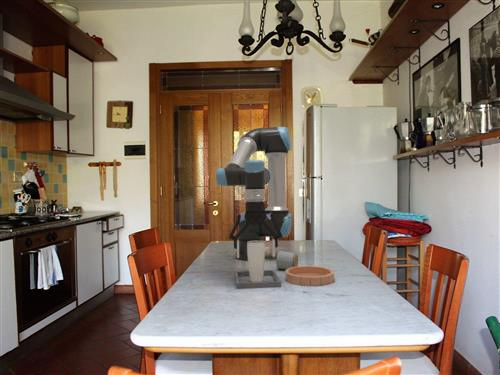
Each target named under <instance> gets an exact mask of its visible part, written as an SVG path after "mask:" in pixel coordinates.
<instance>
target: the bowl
mask: <svg viewBox="0 0 500 375" xmlns="http://www.w3.org/2000/svg"><path fill="white" fill-rule="evenodd" d="M284 279H285V281H286V282H288V283H291V284H294V285H298V286H307V287H309V286H310V287H312V286H313V287H317V286H319V287H320V286H325V285H330V284H332V283H335V282H334V281H335V271H334V270H333V269H332V268H329V267H328V268H327V267H324V266H317V265H298V266H297V267H291V268H288V269H287V270H284Z"/></svg>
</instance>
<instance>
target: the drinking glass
mask: <svg viewBox="0 0 500 375" xmlns="http://www.w3.org/2000/svg"><path fill="white" fill-rule="evenodd" d="M265 242H266V241H263V240H262V241H248V242H247V255H248V260H247V263H248V271H249V276H248V277H249V282H264V276H265V275H264V270H265V259H266V257H265V256H266V245H265Z"/></svg>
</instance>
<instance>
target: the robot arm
mask: <svg viewBox="0 0 500 375" xmlns="http://www.w3.org/2000/svg"><path fill="white" fill-rule="evenodd" d="M289 151H292V141H291V134H290V131H289V129H288V128H287V127H286V126H273V127H271V126H270V127H257V128H253V129H250V130H249V131H247V132H246V133H245V134H243V135H242V136H241V137H240V138H239V140H238V142H237V148H236V150H235V151H234V153H233V155H232V156H231V158H230V160H229V162H228V163H227V165H226V166H225V167H221V168H220V167H219V168H218V169H217V170H216V172H215V180H216V183H217V185H218V186H220V187H221V186H223V187H238V186H242V187H245V189H244V194H245V195H244V197H245V198H244V199H245V200H246V202H244V203H245V204H244V207H245V212H244V211H243V212H241V213H237V214H236V221H235V222H234V224H233V227H232V228H231V231H230V234H229V235H228V238H229V239H230V240H233V249H234V250H235V249H236V250H235V259H237V260H242V261H248V255H247V242H248V241H263V239H262V238H271V256H272V257H273V258H276V248H278V247H279V242H278V241H279V239H281V238H287V237H288V236H290V233H291V229H292V222H293V214H292V213H291V212H289V211H290V210H289V208H288V207H287V206H286V158H287V156H288V155H289ZM256 152H257V153H258V152H264V156H265V157H267V167H265V161H264V160H261V159H253V160H252V159H251V157H252V156H253V155H254V154H255V153H256ZM250 159H251V160H250ZM266 185H267V207H266V201H265V199H266V191H265V187H266ZM237 229H238V230H237ZM236 231H238V232H236ZM235 232H236V233H235ZM265 258H266V255H265Z"/></svg>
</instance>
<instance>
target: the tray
mask: <svg viewBox="0 0 500 375" xmlns="http://www.w3.org/2000/svg"><path fill="white" fill-rule="evenodd" d="M264 276H272V278H273V279H274V281H273V280H270V281H262V282H251V281H246V282H239V277H250V276H249V270H239V271H234V280H235V288H236V289H255V288H259V289H261V288H281V287H282V282H281V280H280V278H279V276H278V274H277V273H276V271H275V269H270V270H269V269H268V270H267V269H266V270H265V269H264Z"/></svg>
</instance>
